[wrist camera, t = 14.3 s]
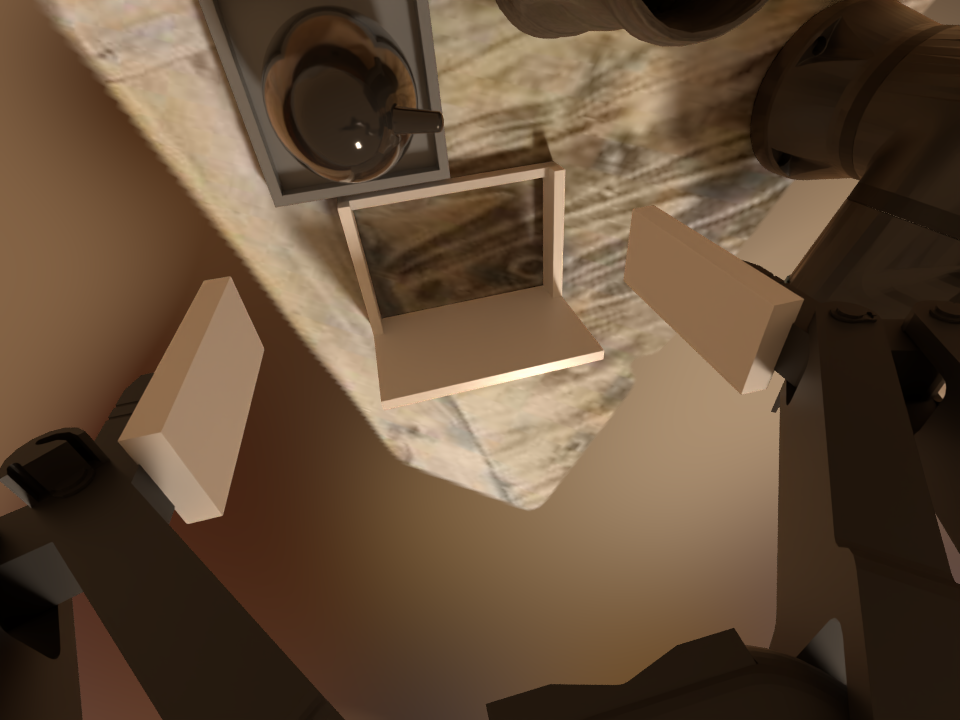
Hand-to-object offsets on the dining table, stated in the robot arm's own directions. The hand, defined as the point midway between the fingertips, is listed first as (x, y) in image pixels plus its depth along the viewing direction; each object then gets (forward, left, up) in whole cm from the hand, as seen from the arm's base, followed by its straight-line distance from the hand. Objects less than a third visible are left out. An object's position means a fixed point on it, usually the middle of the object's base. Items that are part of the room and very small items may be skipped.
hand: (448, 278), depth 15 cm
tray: (+3, -3, -29) cm, 29 cm away
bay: (-5, +12, -29) cm, 32 cm away
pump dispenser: (+2, -3, -28) cm, 28 cm away
